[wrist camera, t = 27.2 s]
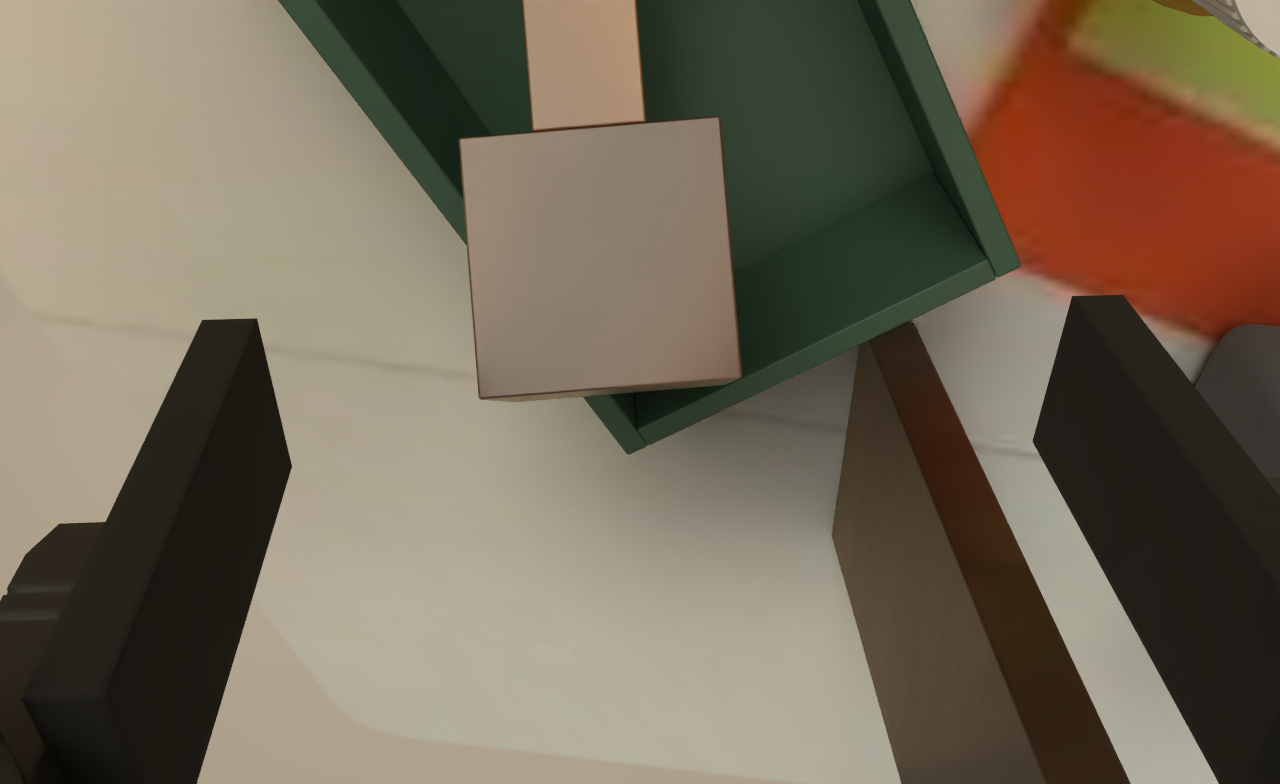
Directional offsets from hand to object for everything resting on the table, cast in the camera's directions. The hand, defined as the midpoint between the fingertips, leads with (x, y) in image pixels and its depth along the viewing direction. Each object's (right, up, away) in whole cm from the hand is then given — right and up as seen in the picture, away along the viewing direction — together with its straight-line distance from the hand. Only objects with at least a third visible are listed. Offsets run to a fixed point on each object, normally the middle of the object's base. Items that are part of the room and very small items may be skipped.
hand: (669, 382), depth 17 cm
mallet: (-2, +9, +9) cm, 13 cm away
